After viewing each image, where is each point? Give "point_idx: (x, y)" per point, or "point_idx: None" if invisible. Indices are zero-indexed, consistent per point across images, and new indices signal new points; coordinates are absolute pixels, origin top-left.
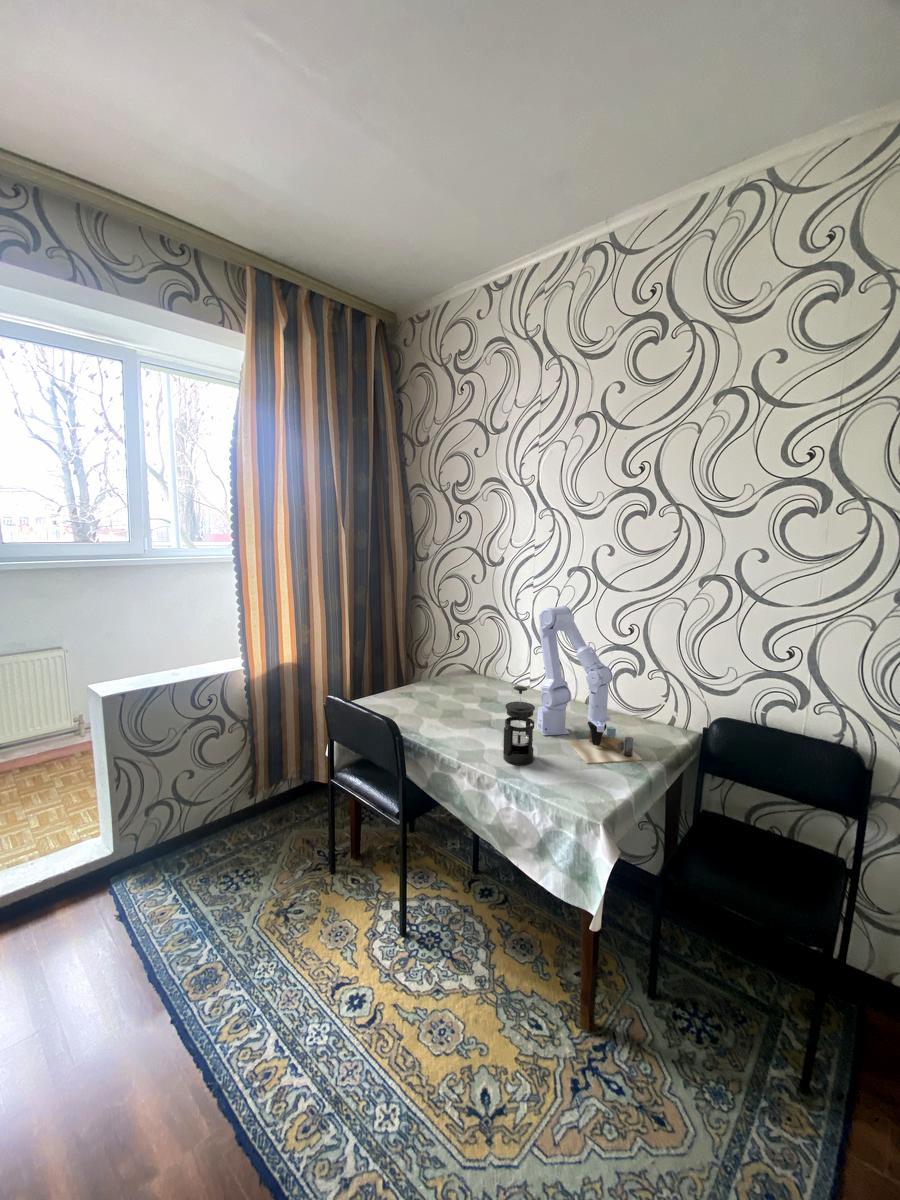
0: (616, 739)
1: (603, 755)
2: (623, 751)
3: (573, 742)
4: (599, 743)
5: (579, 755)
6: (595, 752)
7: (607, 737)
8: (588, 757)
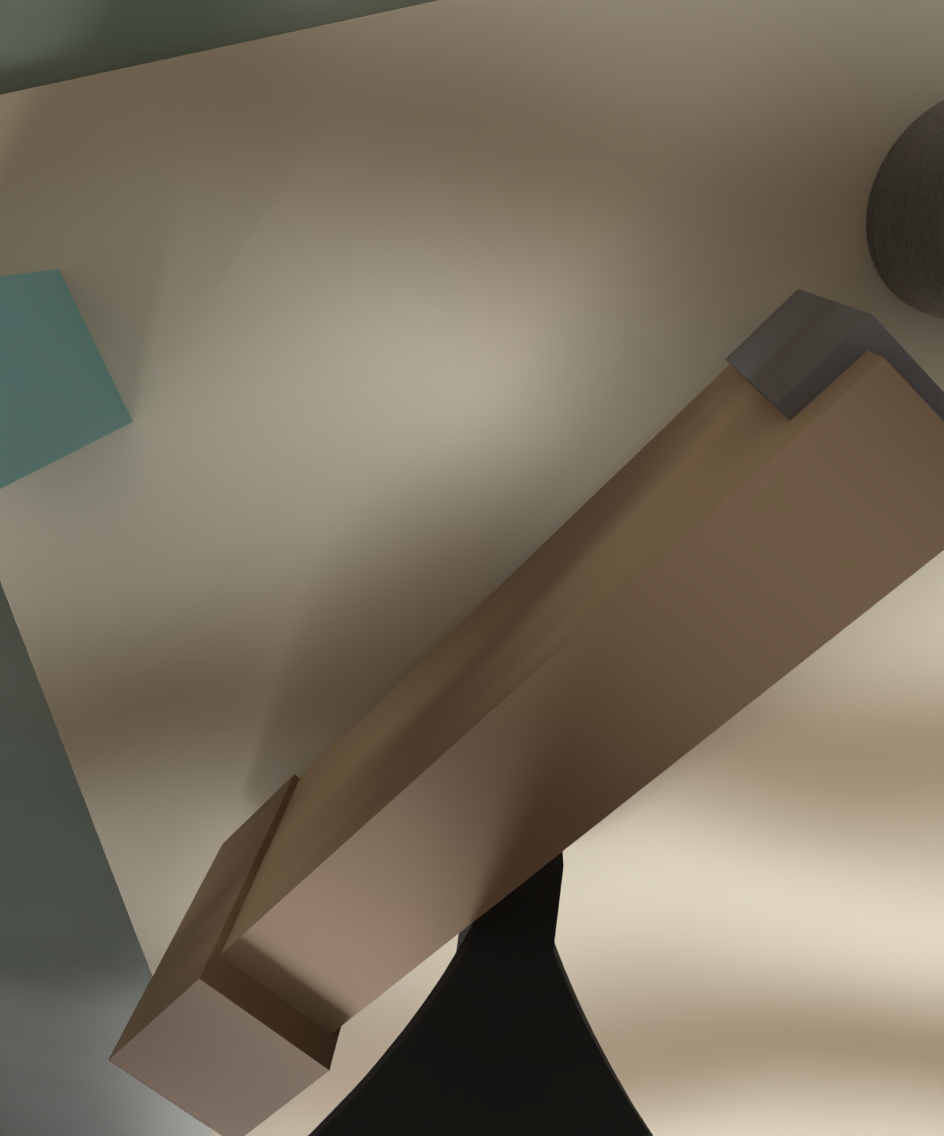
0: (724, 571)
1: (892, 799)
2: (736, 265)
3: (305, 1105)
4: (560, 866)
5: (788, 1132)
6: (735, 899)
7: (554, 800)
8: (934, 1064)
